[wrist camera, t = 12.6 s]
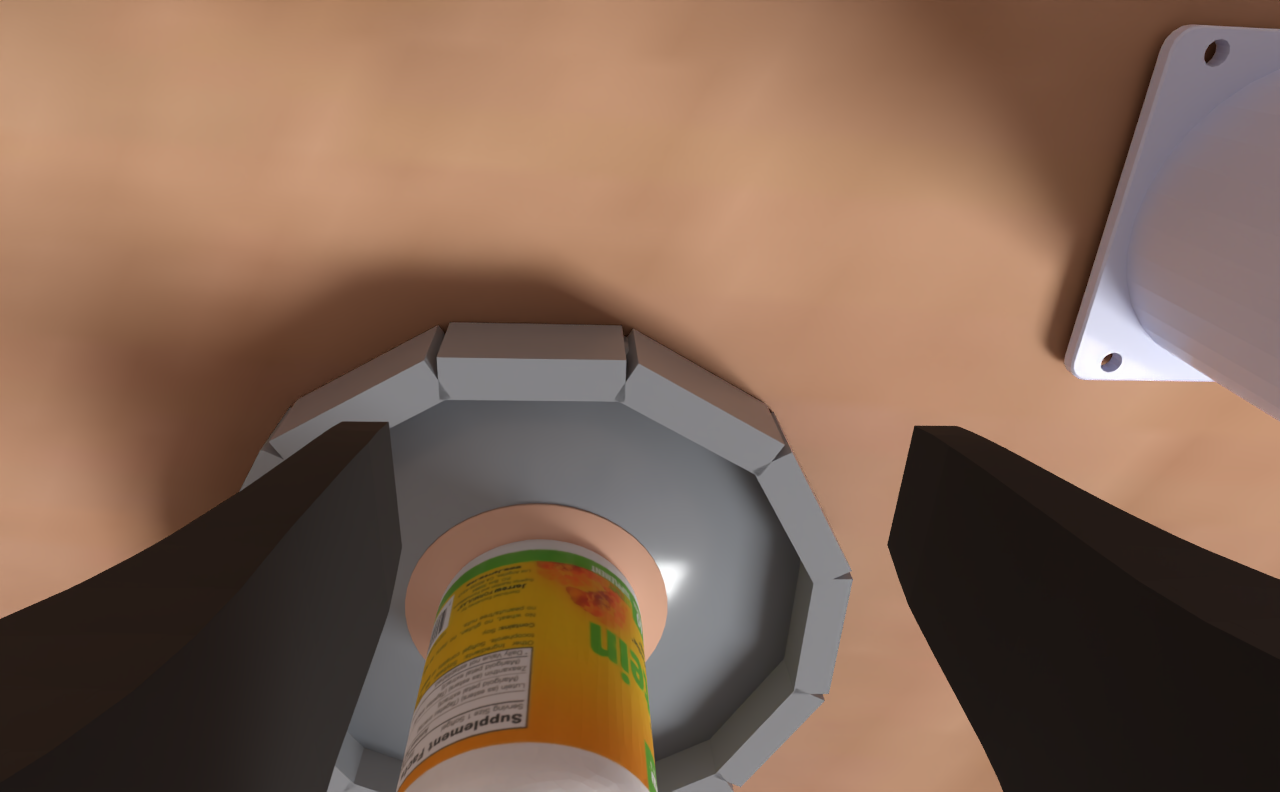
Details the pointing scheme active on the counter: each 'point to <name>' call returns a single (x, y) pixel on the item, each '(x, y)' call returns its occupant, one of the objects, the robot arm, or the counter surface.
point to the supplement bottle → (533, 679)
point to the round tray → (598, 527)
